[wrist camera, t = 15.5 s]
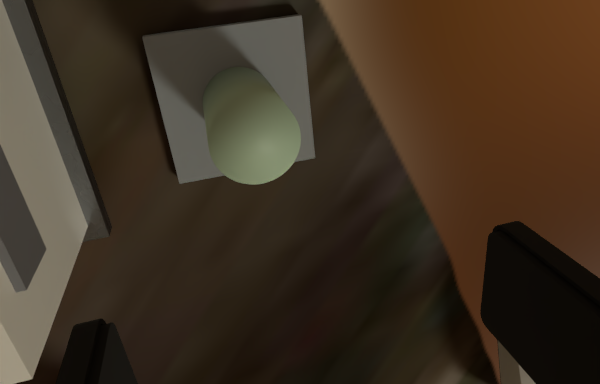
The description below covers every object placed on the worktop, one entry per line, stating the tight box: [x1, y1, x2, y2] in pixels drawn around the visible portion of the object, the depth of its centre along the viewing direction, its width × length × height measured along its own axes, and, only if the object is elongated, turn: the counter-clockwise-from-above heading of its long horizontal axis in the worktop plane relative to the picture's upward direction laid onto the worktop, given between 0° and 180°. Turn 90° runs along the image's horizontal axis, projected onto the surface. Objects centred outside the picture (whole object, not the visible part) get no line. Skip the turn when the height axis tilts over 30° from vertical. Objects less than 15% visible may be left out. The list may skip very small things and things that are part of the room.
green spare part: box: [203, 67, 301, 184], centre depth 24 cm, size 4×4×7 cm
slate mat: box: [142, 14, 315, 184], centre depth 28 cm, size 9×9×1 cm
